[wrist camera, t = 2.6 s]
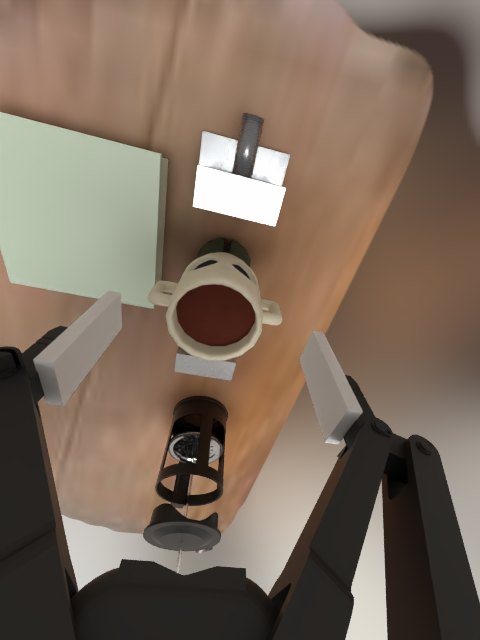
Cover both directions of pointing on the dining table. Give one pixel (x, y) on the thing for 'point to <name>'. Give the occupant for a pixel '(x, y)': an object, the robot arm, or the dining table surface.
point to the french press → (190, 478)
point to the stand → (80, 211)
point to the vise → (235, 201)
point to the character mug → (216, 304)
